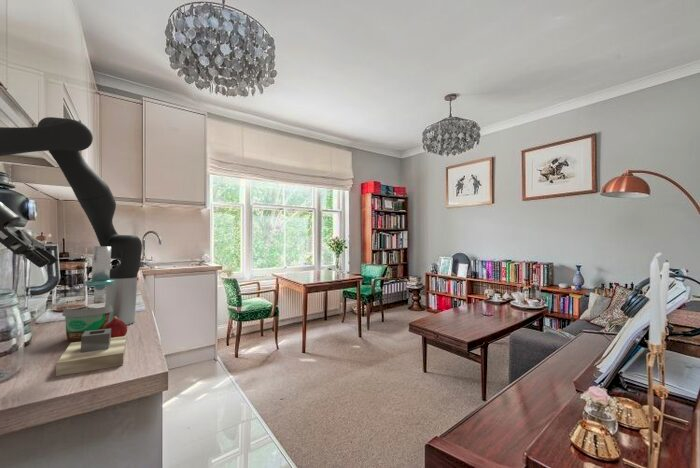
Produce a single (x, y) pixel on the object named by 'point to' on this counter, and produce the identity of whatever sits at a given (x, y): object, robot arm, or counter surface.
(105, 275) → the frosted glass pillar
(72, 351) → the wooden base with socket
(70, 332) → the food container
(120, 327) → the onion
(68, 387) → the counter surface
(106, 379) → the counter surface
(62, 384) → the counter surface
